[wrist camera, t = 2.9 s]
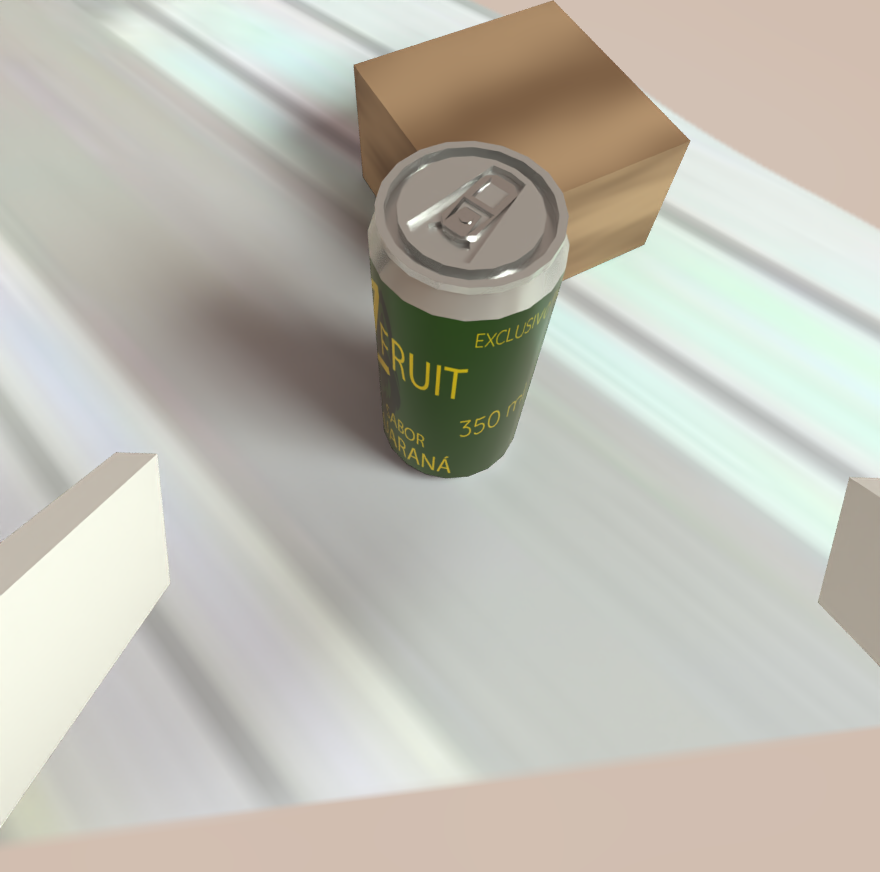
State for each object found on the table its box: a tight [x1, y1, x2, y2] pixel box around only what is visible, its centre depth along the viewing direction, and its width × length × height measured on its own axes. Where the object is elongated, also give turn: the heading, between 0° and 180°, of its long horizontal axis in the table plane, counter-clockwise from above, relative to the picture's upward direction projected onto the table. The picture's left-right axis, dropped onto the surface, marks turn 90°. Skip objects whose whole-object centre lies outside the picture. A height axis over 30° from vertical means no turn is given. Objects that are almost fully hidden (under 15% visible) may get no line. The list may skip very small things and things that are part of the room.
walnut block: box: [354, 1, 690, 281], centre depth 30 cm, size 10×10×6 cm
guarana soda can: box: [367, 141, 570, 478], centre depth 23 cm, size 5×5×12 cm
